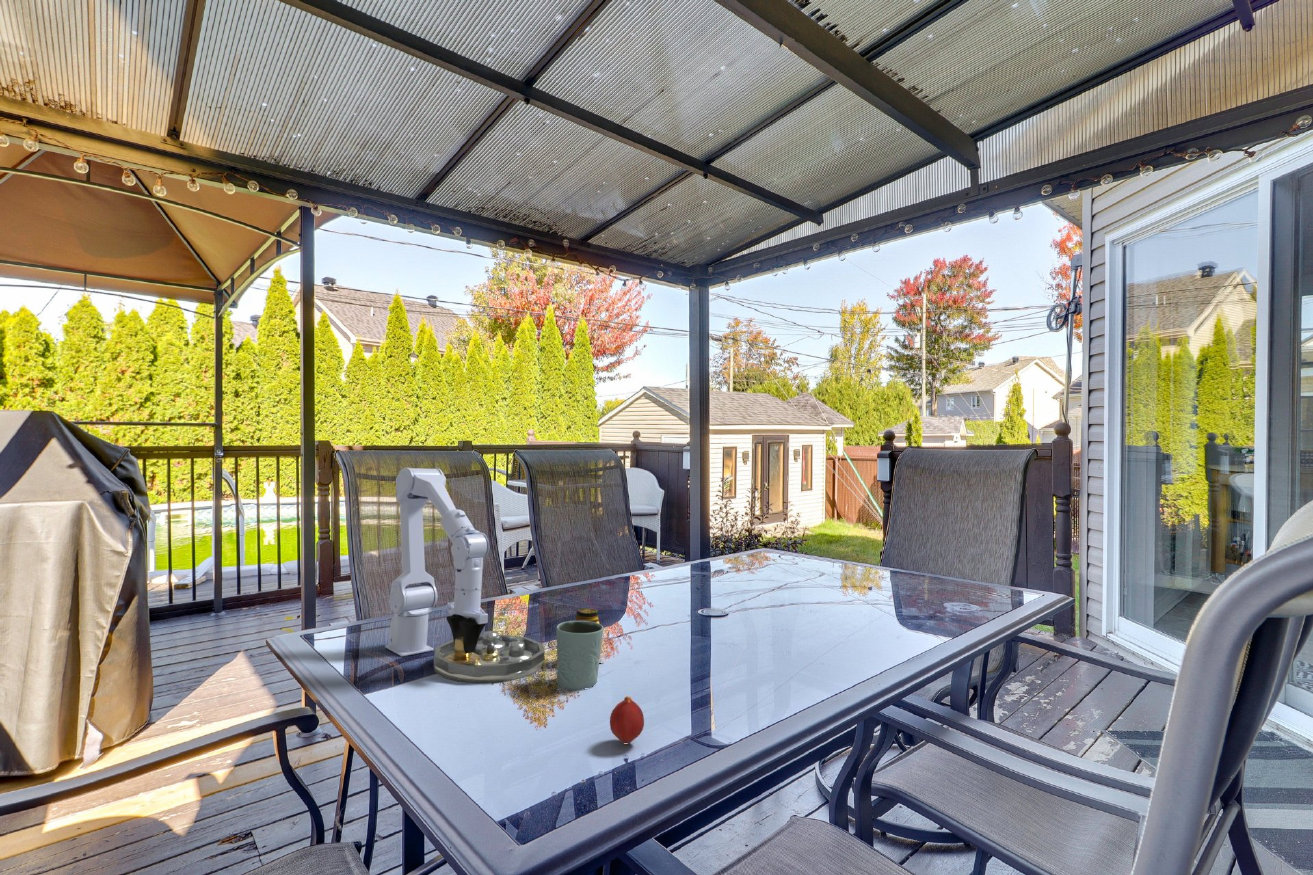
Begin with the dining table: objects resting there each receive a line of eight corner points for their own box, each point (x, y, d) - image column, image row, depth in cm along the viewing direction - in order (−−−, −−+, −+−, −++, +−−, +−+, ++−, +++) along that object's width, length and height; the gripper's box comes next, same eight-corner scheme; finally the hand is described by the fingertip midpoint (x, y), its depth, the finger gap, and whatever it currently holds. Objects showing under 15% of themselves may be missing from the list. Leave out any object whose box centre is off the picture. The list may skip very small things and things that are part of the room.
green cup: (581, 672, 140) (584, 618, 141) (611, 684, 133) (613, 627, 134) (544, 681, 133) (546, 624, 134) (572, 695, 126) (575, 635, 126)
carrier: (415, 661, 142) (416, 637, 143) (506, 643, 160) (507, 621, 160) (468, 691, 126) (469, 663, 126) (563, 667, 143) (565, 643, 143)
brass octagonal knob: (439, 662, 138) (441, 637, 138) (469, 657, 143) (470, 632, 143) (453, 671, 133) (454, 645, 133) (483, 665, 137) (485, 640, 138)
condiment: (604, 663, 147) (606, 612, 148) (571, 668, 142) (574, 615, 143) (590, 655, 153) (592, 605, 154) (558, 659, 149) (561, 608, 149)
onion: (608, 736, 108) (610, 688, 108) (642, 736, 108) (643, 689, 108) (609, 751, 102) (611, 701, 102) (644, 751, 102) (646, 701, 103)
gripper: (435, 584, 141) (432, 645, 140) (468, 596, 131) (464, 661, 130) (464, 581, 146) (461, 640, 145) (497, 592, 136) (494, 655, 135)
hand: (464, 650), depth 138 cm, fingers open, 4 cm apart
